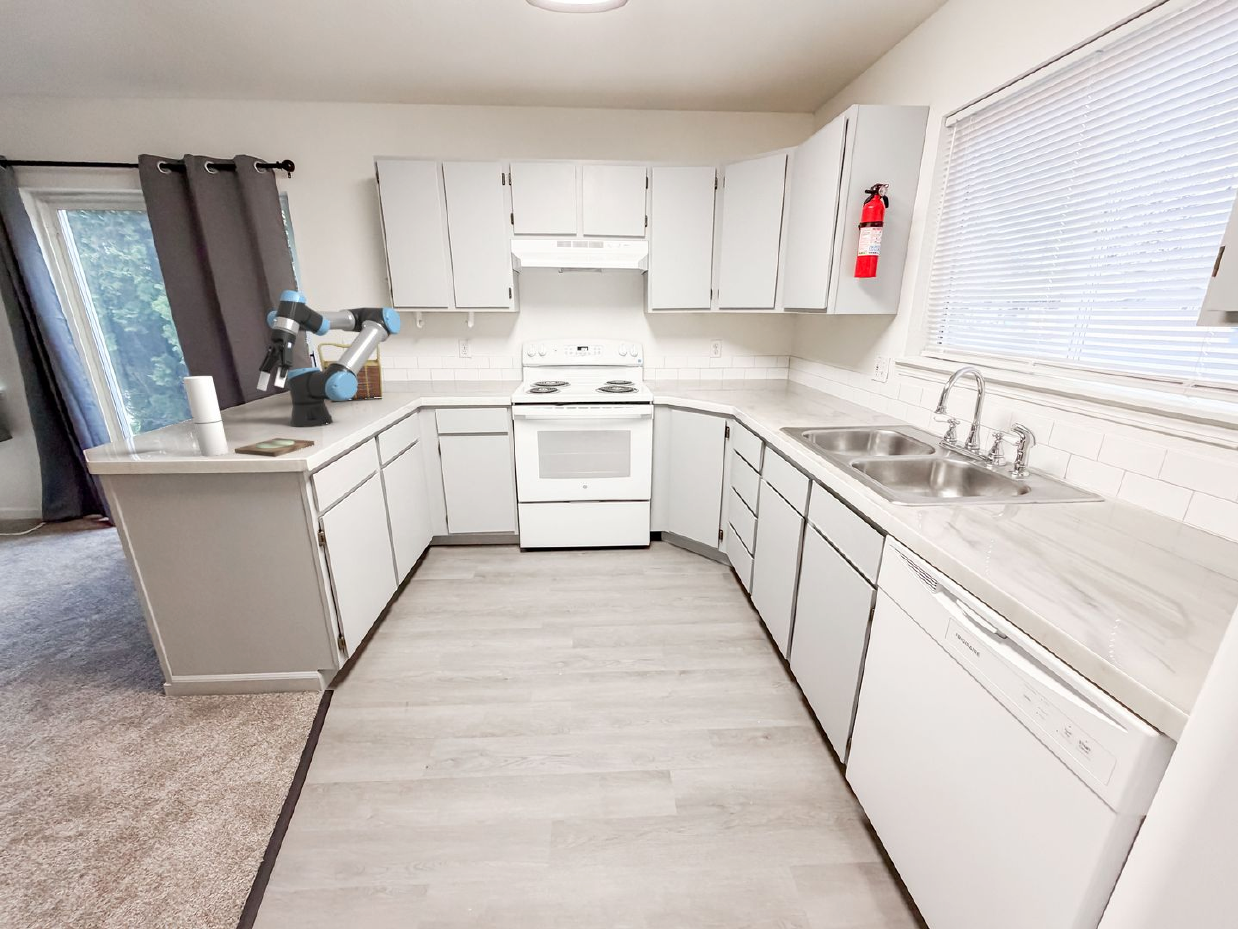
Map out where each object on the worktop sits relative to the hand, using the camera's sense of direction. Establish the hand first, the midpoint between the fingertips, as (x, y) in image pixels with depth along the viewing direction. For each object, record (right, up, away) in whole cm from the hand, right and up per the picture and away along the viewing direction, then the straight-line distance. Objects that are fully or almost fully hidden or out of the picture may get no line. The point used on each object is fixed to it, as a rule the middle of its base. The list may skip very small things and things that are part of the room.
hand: (269, 388), depth 177 cm
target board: (+6, -22, -5) cm, 23 cm away
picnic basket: (-21, +9, +97) cm, 100 cm away
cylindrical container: (-10, -23, -11) cm, 28 cm away
